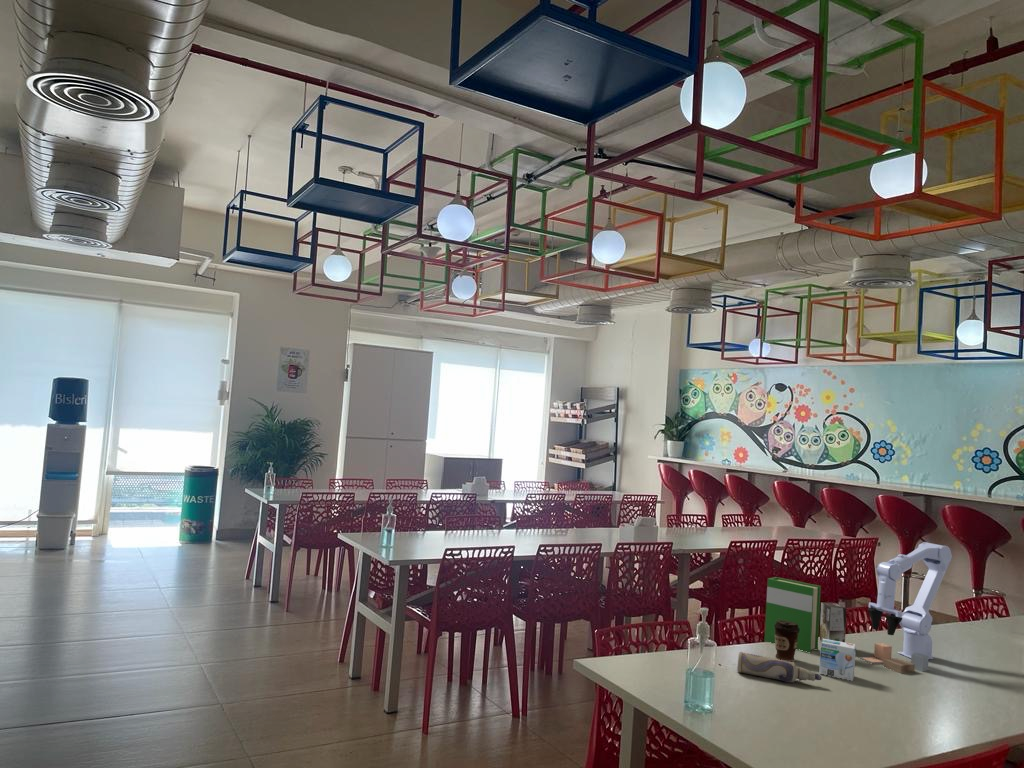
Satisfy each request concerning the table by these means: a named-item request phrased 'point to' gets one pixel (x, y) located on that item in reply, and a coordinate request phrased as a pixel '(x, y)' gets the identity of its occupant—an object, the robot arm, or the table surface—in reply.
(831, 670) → the light bulb box
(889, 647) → the terracotta block
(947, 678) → the table surface
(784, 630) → the coffee cup
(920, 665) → the slate block
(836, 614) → the coffee box
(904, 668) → the walnut slab
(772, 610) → the hardback book
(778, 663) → the decorative bottle
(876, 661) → the swatch
